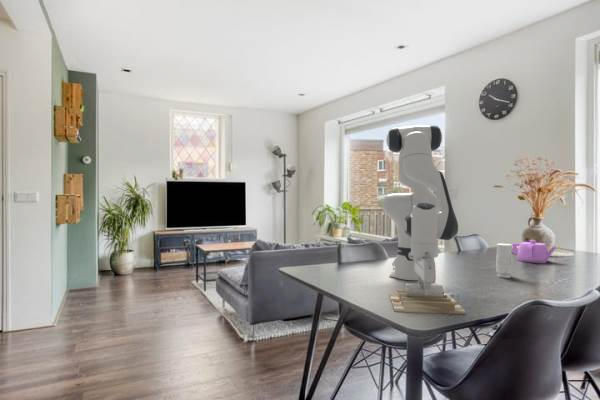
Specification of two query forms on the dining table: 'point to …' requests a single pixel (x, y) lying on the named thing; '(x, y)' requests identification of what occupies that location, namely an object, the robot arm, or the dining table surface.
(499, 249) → the candle
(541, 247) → the teakettle
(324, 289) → the dining table surface
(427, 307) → the rack
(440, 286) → the blanking panel
